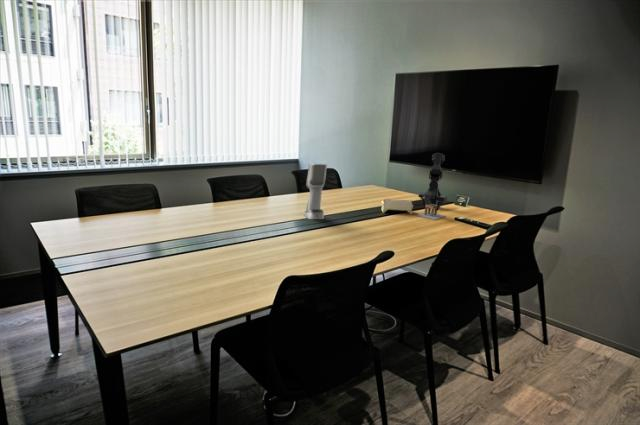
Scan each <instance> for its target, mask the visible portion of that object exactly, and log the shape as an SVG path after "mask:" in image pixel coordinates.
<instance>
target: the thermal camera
mask: <svg viewBox="0 0 640 425" xmlns="http://www.w3.org/2000/svg"><path fill="white" fill-rule="evenodd" d="M327 168H328V164H327V163H309V164H308V168H307V176H306V182H305V186H306V188H307V189H309V195H308V200H307V203H306V207H305V208H306V209H305V211H304V212H303V216H305V217H306V218H307V220H314V221H315V220H317V219H318V220H324V219H325V214H324V213H325V212H324V210H323V209H321V206H322V191H323V188H324V186H325V183H326V176H327Z"/></svg>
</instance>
